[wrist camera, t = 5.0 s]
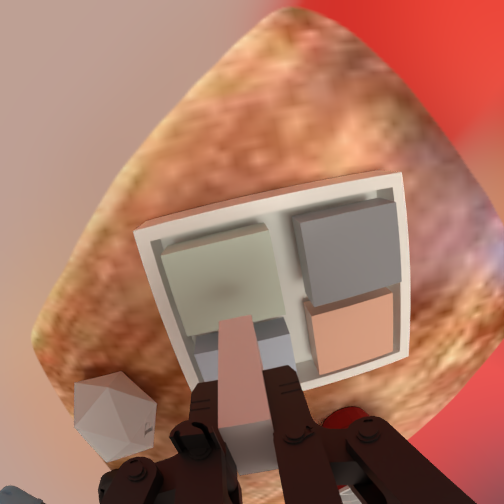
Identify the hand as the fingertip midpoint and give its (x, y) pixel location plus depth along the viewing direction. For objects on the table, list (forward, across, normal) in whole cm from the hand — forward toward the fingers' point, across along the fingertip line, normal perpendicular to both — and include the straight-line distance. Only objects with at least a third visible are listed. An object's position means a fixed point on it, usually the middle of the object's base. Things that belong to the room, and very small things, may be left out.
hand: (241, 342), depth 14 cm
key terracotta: (+11, -9, +7) cm, 15 cm away
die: (+13, +15, +12) cm, 23 cm away
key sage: (+9, +1, 0) cm, 9 cm away
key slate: (+9, 0, +7) cm, 12 cm away
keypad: (+12, -4, +3) cm, 13 cm away
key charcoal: (+9, -8, -1) cm, 12 cm away
